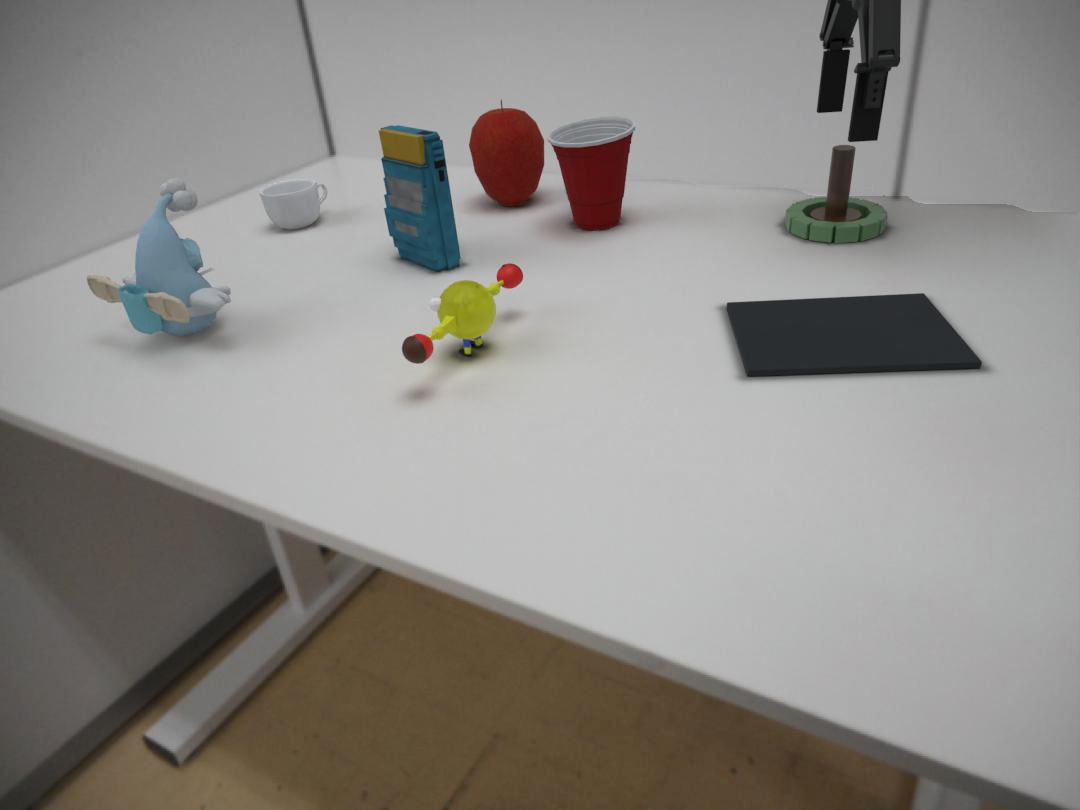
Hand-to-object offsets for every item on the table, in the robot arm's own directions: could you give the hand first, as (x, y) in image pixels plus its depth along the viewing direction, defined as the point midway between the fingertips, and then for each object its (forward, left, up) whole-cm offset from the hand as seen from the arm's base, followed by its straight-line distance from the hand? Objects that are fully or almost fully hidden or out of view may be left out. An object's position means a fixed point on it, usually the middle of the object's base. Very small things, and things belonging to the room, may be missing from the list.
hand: (844, 125), depth 81 cm
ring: (0, 0, -11) cm, 11 cm away
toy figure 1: (+70, +20, -12) cm, 73 cm away
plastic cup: (+28, -6, -12) cm, 31 cm away
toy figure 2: (+39, +27, -12) cm, 49 cm away
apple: (+40, -17, -12) cm, 45 cm away
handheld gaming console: (+48, +4, -12) cm, 49 cm away
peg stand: (0, 0, -11) cm, 11 cm away
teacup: (+70, -14, -12) cm, 72 cm away
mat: (+6, +27, -11) cm, 30 cm away
